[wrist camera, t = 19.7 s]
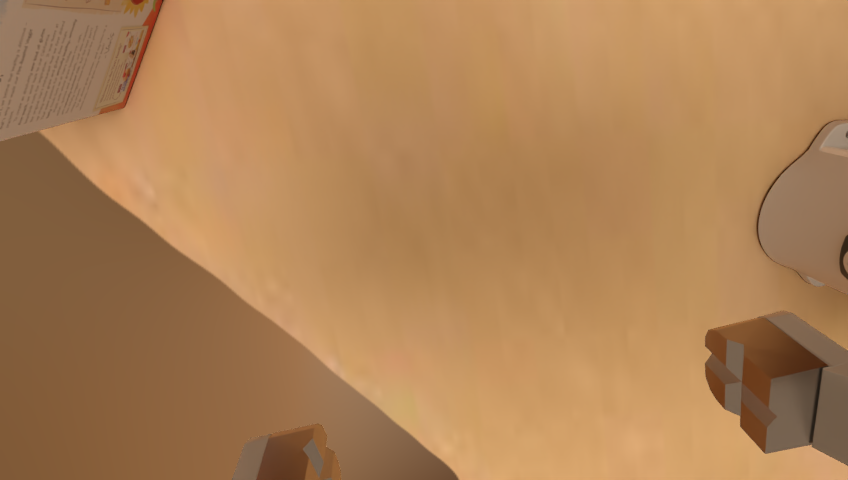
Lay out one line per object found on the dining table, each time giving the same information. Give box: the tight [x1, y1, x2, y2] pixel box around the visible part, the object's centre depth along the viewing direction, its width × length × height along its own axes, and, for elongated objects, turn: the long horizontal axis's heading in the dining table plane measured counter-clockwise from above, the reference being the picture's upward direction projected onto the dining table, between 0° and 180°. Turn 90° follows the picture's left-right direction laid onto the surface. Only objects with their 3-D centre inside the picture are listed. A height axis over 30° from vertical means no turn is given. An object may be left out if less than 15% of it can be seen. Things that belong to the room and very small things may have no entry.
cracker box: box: [0, 0, 163, 141], centre depth 29 cm, size 14×6×21 cm, turn 148°
